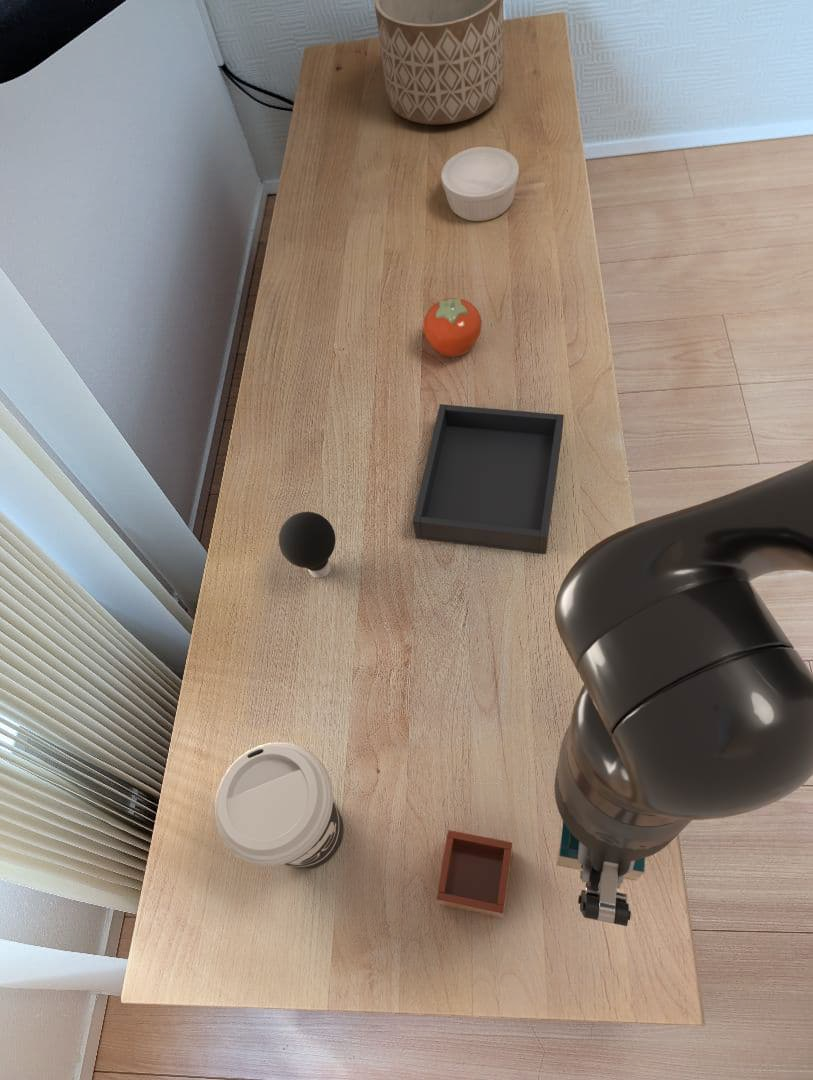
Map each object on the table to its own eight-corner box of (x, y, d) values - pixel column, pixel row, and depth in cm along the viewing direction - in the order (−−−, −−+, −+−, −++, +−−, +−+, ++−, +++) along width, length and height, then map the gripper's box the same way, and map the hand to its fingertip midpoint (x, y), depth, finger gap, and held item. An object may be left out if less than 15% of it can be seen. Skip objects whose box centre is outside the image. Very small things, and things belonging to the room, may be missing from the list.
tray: (562, 433, 93) (563, 414, 90) (546, 554, 85) (547, 537, 82) (442, 423, 96) (439, 403, 93) (415, 538, 88) (412, 521, 85)
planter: (365, 112, 131) (347, 5, 117) (437, 55, 137) (428, -52, 123) (455, 148, 123) (448, 38, 109) (526, 86, 130) (529, -25, 116)
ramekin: (449, 233, 113) (447, 201, 109) (438, 186, 119) (435, 154, 115) (525, 219, 113) (526, 187, 108) (510, 172, 119) (510, 140, 114)
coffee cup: (362, 779, 75) (332, 734, 62) (356, 887, 70) (322, 863, 57) (265, 779, 76) (216, 735, 63) (253, 886, 71) (197, 861, 58)
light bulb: (337, 599, 85) (318, 555, 77) (288, 589, 86) (263, 544, 78) (353, 554, 88) (337, 506, 79) (305, 544, 89) (284, 496, 81)
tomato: (478, 322, 104) (476, 274, 97) (485, 363, 100) (484, 316, 93) (423, 329, 104) (417, 282, 97) (428, 371, 100) (422, 325, 94)
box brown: (512, 850, 70) (512, 842, 66) (503, 918, 68) (503, 913, 64) (451, 838, 71) (447, 829, 68) (440, 904, 69) (436, 899, 65)
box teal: (640, 800, 58) (649, 786, 54) (636, 881, 55) (644, 872, 51) (564, 787, 59) (567, 773, 55) (556, 865, 56) (559, 855, 53)
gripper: (697, 935, 38) (647, 951, 53) (702, 661, 45) (657, 742, 59) (542, 903, 40) (536, 928, 54) (570, 643, 46) (557, 727, 61)
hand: (599, 830), depth 57 cm, fingers closed on box teal, 5 cm apart
